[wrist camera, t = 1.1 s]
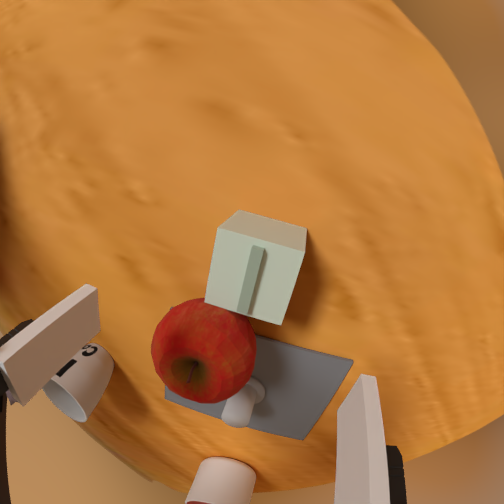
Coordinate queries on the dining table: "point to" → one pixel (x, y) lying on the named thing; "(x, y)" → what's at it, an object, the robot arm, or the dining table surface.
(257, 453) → the dining table surface
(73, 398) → the cup
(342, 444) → the robot arm
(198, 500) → the cup
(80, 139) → the dining table surface
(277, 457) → the dining table surface
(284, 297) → the pale green block
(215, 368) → the apple
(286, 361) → the grey piece
